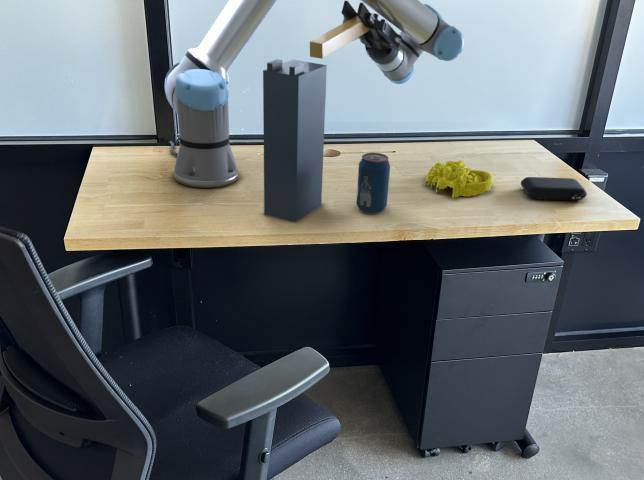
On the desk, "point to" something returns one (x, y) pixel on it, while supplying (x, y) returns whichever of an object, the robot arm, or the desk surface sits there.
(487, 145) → the desk surface
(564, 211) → the desk surface
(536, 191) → the carrying case
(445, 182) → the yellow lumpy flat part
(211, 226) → the desk surface
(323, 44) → the bar
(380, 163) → the soda can
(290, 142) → the door post
